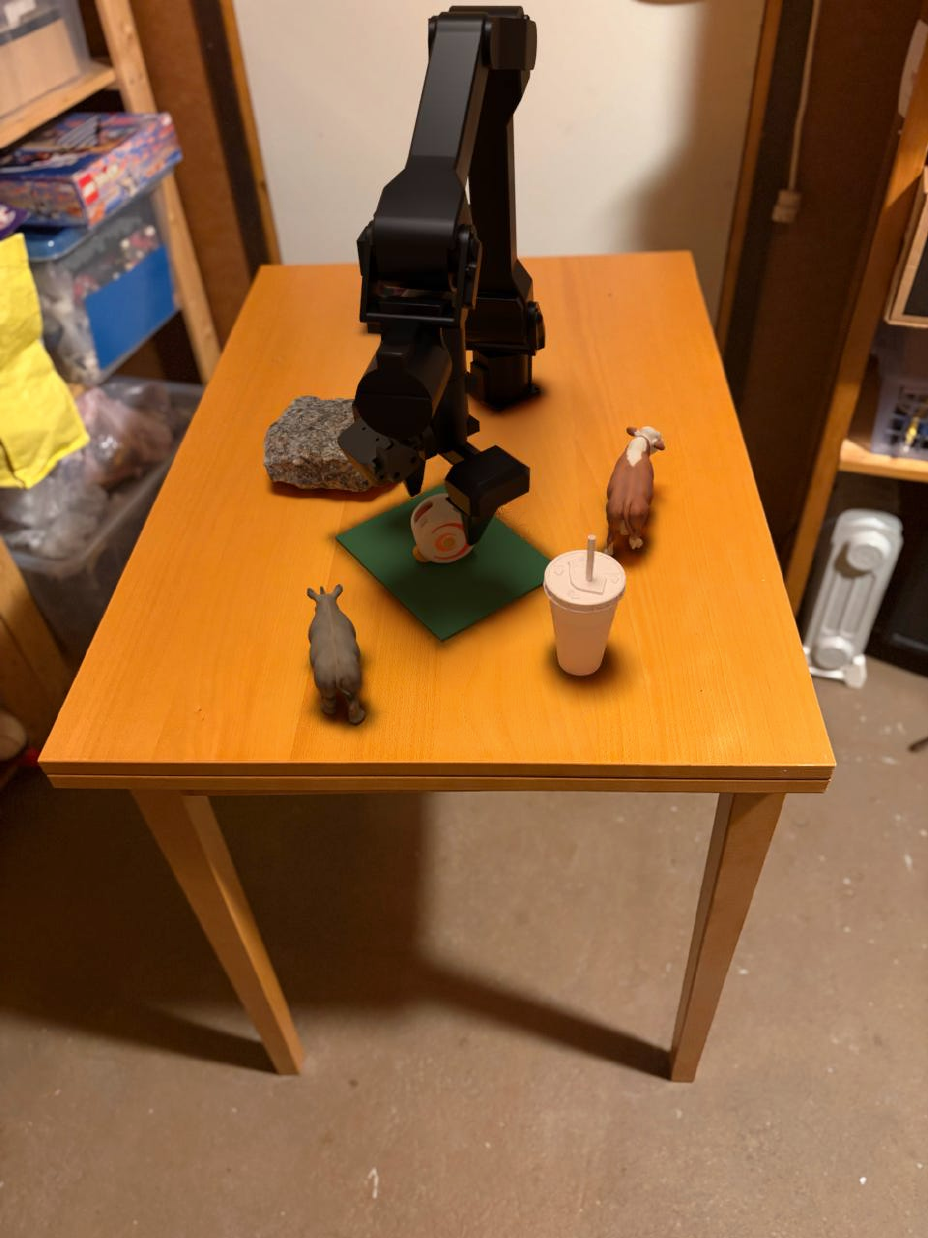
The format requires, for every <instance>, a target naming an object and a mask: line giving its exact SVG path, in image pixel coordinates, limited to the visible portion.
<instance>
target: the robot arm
mask: <svg viewBox="0 0 928 1238" xmlns="http://www.w3.org/2000/svg"><path fill="white" fill-rule="evenodd" d="M427 50H428V51H427V56H428V57H427V66H426V70H425V75H424V79H423V85H422V90H421V93H420V98H419V103H418V107H417V112H416V117H415V122H414V126H413V131H412V136H411V141H410V145H409V149H408V154H407V158H406V162H405V165H404V168H402V170H401V171H399V173H398V174H396V176H394V177H393V178H392V179H391V180H390V181H389V182H387V183H386V184H385V185H384V186H383V188H382V190H381V193H380V196H379V199H378V203H377V206H376V208H375V211H376V212H375V211H374V213H375V215H374V217H373V218H372V219H371V220H370V221H369V222H368V224H367V225H366V226H367V229H366V234H365V244H364V258H363V272H362V276H361V285H360V287H361V288H360V299H359V313H358V314H359V317H358V319H359V320H358V321H359V322H360V324H367V323H372V324H380V330H381V334H380V342H379V345H378V347H377V349H376V350H375V353H374V354H373V357H372V358H371V360H370V362H369V363H368V365H367V367H366V369H365V371H364V373H363V374H362V377H361V378H360V380H359V381H358V384H357V385H356V389H355V395H354V398H353V399H354V401H353V403H352V411H353V418H354V423H353V424H351V425H350V426H349V427H348V428H347V429H346V430H344V431H343V432H342V433H341V434H340V435H339V437H338V439H337V444H338V445H339V447H340V448H341V450H342V452H343V453H344V455H345V456H346V458H347V459H348V461H349V462H350V464H351V465H352V467H353V468H354V470H356V471H357V472H359V473H360V474H361V475H362V476H363V477H364V478H365V479H367V480H368V481H369V483H370V484H372V485H373V486H372V487H375V488H382V487H384V486H385V487H386V486H387V485H388V484H389V483H390V482H392V484H401V483H403V485H404V488H405V491H406V492H407V494H408V496H410V497H411V498H415V497H417V496H419V495H420V494H421V491H422V488H423V484H424V479H425V471H426V466H427V461H429V460H430V459H433V458H435V457H437V456H438V455H439V456H440V457H441V458H443V459H444V460H445V461H446V462H448V463H449V464H450V465H451V467H450V469H449V470H448V472H447V473H446V476H445V477H444V483H445V490H446V492H447V494H448V496H449V497H447V498H445V500H446V501H447V502H449V503H450V504H451V505H452V506H454V507H455V508H456V509H457V510H458V511H460V514H461V519H462V525H463V530H464V535H465V539H466V542H467V544H468V545H469V546H472V545H474V544H476V543H478V542H479V541H480V539H481V537H482V535H483V534H484V532H485V530H486V528H487V527H488V525H489V523H490V521H491V520H492V518H493V516H495V515H496V514H497V511H498V509H499V508H500V507H503V506H504V505H507V504H508V503H511V502H512V501H514V500H516V499H518V498H520V497H522V496H525V495H526V494H528V493H530V489H531V467H529V466H528V465H526V463H524V462H522V461H521V460H520V459H518V457H515V456H514V455H513V454H512V453H510V452H509V451H508V450H506V449H504V448H502V447H501V446H499V445H498V444H494V445H491V446H490V447H487V448H485V449H484V450H481V449H479V448H478V447H476V446H475V445H474V444H472V443H470V442H469V440H468V438H469V437H471V436H473V435H475V434H477V433H480V432H481V423H480V420H479V419H477V418H476V417H474V416H473V415H472V414H470V410H469V409H470V408H469V407H470V406H469V394H470V395H472V396H473V397H475V398H476V399H478V400H479V401H481V402H482V403H484V404H485V405H487V407H490V408H491V409H492V410H493V411H495V412H499V413H500V412H502V411H505V410H507V409H509V408H512V407H515V406H517V405H518V404H521V403H522V402H525V401H527V400H529V399H531V398H533V397H536V396H537V395H540V394H541V391H542V389H541V387H539V386H538V385H537V384H535V383H533V357H536V356H537V354H538V352H539V351H542V350H543V349H545V348H546V337H547V335H546V334H547V333H546V325H545V319H544V315H543V312H542V309H541V307H540V303H539V301H537V300H536V301H535V299H534V298H535V297H534V296H535V295H534V280H533V278H532V276H531V275H530V273H529V272H528V271H527V270H526V268H525V267H524V265H523V264H522V262H521V261H520V259H518V241H517V239H518V237H517V236H518V235H517V202H516V201H517V200H516V198H517V197H516V195H517V194H516V162H515V158H516V157H515V122H514V120H515V118H514V114H515V113H516V111H517V109H518V107H519V106H520V104H521V102H522V99H523V96H524V94H525V92H526V89H527V87H528V84H529V82H530V79H531V71H534V70H535V65H536V62H537V52H538V28H537V23H536V21H534V20H532V19H531V17H530V16H529V14H525V11H524V8H523V6H522V5H453V4H452V5H451V6H450V7H449V8H448V11H441V12H440V13H439V14H438V15H436V14H435V15H432V16H431V17H429V18H427ZM467 184H468V195H467V190H466V188H467ZM468 197H469V198H468ZM468 199H469V200H468ZM469 204H470V209H469ZM380 281H381V282H382V284H383V286H384V287H386V288H396V289H407V290H406V291H405V292H404V293H403V295H402V296H386V295H378V291H379V286H380ZM467 351H468V352H469V351H471V353H472V355H471V357H472V361H470V363H469V370H468V368H467V367H468V365H467Z"/></svg>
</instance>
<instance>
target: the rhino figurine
mask: <svg viewBox="0 0 928 1238" xmlns="http://www.w3.org/2000/svg"><path fill="white" fill-rule="evenodd" d="M343 588H344V587H343V584H341V583H338V584H337V585H336V586H335V587H334V589H333V590H332V592H331V593H326V591H325V589H324V586H323V585H320V586H319V594H318V593H317V592H316V591H315V590H314V589H313V588H310V587H307V588H306V595H307V597H308V598H309V599H310V600H312V601H314V602H315V607H314V616H313V617H312V620H311V623H310V624H309V627H308V631H307V635H308V636H307V638H308V639H307V640H308V642H309V644H310V647H309V651H308V652H309V654H308V655H309V657H308V658H309V663H310V665H311V668H312V670H313V681H314V685H315V687H316V689H317V690H318V692H319V693H320V694H321V696H322V697H323V700H322V702H321V704H320V706H319V707H320V710H321V711H323V712H324V713H326V714H328V715H329V714H330V715H331V714H334V713H336V711H337V709H338V701H337V693H338V691H340V692H342V694H343V695H344V697H345V700H346V705H347V710H348V711H347V717H348V721H349V722H350V723H351V724H358V723H360V722H362V721H363V720H364V718H365V716H366V712H365V711H364V710H363V709H362V708H361V707H360V699H359V698H360V697H359V696H360V691H361V688H362V684H363V673H362V669H361V666H360V661H361V649H360V646H359V644H358V642H357V632H356V629H355V626H354V624H353V622H352V620H351V619H350V618H349V617H348V616H347V615H346V614H345V613H344V612H343V611H342V610H341V609H340V607H339V604H338V602H337V601H338V598H339V597H340V596H341V595H342V593H343V592H344V589H343Z"/></svg>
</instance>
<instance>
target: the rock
mask: <svg viewBox="0 0 928 1238" xmlns="http://www.w3.org/2000/svg"><path fill="white" fill-rule="evenodd" d="M354 399H355V398H342V397H336V398H334V399H333V398H329V399H328V398H327V399H321V398H319V397H318V396H315V395H301V396H298V397H296V398H294V399H293V400H291V402H290V404H289V406H287V407H286V408H285V409H284V410H283V413H282V414H281V415H280V416H279V418H278V419H276V420H275V421H274V422H273V423H271V425H270V426H269V427H268V428H267V430H266V432H265V433H266V434H265V437H264V438H263V439H264V440H263V445H262V446H263V460H262V461H263V462H262V466H263V467H264V468H265V471H266V474H267V475H268V477H269V479H270V480H271V481H272V482H273V483H277V482H281V483H285V484H291V485H293V486H295V487H297V488H298V489H303V490H313V489H320V488H324V489H331V490H332V489H333V490H342V491H350V492H352V493H353V492H354V493H364V492H366V491H368V490H369V489H370V488H371V487H374V486H373V485H372V484H370V483H369V481H368V480H367V479H365V478H364V477H363V476H362V475H361V474H360V473H359V472H357V471H356V470H354V468H353V467H352V465H351V464H350V462H349V461H348V459H347V458H346V456H345V455H344V453H343V452H342V450H341V448H340V447H339V445H338V444H337V439H338V437H339V435H340V434H341V433H342V432H343V431H344V430H346V429H347V428H348V427H349V426H350V425H351V424H353V423H354V418H353V411H352V403H353V401H354Z"/></svg>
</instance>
